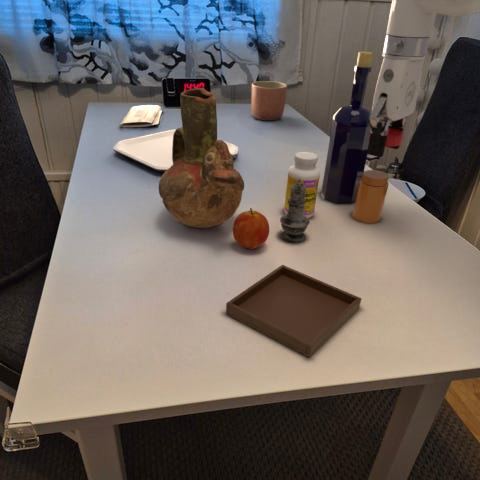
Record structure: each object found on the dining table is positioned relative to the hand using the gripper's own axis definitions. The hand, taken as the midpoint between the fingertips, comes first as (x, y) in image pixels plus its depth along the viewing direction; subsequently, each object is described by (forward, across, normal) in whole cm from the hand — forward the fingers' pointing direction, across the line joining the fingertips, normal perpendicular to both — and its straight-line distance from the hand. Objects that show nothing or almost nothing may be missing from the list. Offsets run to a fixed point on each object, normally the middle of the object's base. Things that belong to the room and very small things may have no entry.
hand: (383, 150), depth 89 cm
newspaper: (+13, +16, +95) cm, 97 cm away
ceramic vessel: (+14, -28, +24) cm, 39 cm away
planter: (+14, +50, +67) cm, 85 cm away
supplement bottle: (+15, -10, +12) cm, 21 cm away
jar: (+15, 0, +1) cm, 15 cm away
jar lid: (-3, 0, 0) cm, 3 cm away
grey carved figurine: (+15, -19, +7) cm, 25 cm away
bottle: (+15, +6, +11) cm, 19 cm away
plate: (+14, -2, +60) cm, 61 cm away
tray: (+15, -40, -8) cm, 43 cm away
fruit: (+15, -28, +11) cm, 34 cm away
